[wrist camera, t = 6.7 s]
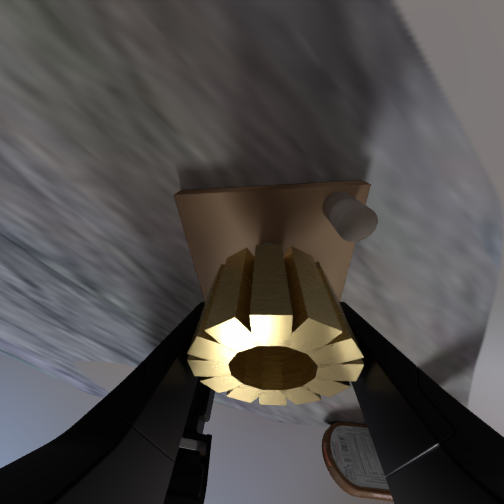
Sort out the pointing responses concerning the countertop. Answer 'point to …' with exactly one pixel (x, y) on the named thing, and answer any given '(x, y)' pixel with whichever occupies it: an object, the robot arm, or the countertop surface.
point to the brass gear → (274, 330)
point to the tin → (354, 461)
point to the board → (277, 224)
